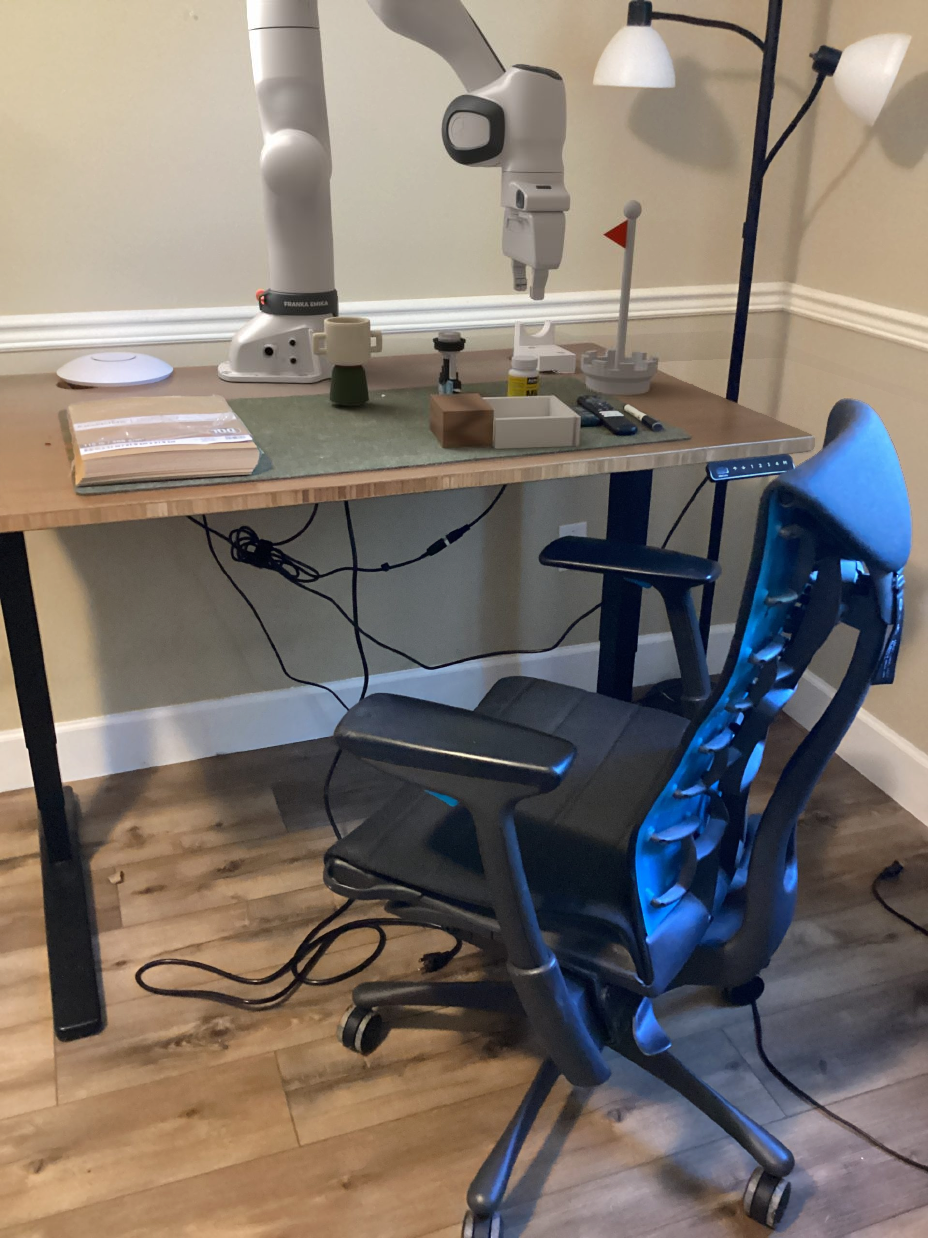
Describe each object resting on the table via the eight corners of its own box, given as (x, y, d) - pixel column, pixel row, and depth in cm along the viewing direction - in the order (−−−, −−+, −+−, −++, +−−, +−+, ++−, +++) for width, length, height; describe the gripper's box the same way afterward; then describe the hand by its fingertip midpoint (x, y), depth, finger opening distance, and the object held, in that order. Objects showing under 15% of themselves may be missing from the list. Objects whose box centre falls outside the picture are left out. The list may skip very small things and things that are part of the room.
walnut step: (442, 447, 139) (443, 411, 137) (429, 428, 148) (430, 394, 145) (492, 445, 140) (493, 409, 138) (476, 427, 149) (477, 393, 147)
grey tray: (495, 448, 139) (496, 419, 137) (474, 424, 150) (475, 397, 149) (578, 445, 141) (580, 417, 139) (552, 421, 153) (554, 395, 151)
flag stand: (627, 377, 183) (643, 197, 170) (670, 392, 172) (691, 202, 160) (565, 382, 178) (577, 197, 165) (605, 398, 167) (621, 202, 154)
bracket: (513, 361, 195) (515, 321, 191) (547, 360, 197) (549, 320, 193) (538, 376, 183) (541, 333, 180) (574, 374, 186) (577, 331, 182)
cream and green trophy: (377, 397, 164) (376, 314, 159) (388, 408, 158) (387, 322, 153) (310, 401, 161) (307, 317, 156) (319, 412, 155) (316, 324, 149)
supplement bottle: (527, 417, 155) (530, 361, 151) (501, 412, 157) (503, 357, 153) (542, 411, 158) (545, 356, 155) (516, 407, 161) (518, 353, 157)
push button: (473, 399, 165) (475, 336, 161) (443, 401, 163) (444, 338, 159) (456, 390, 170) (457, 329, 166) (427, 392, 168) (427, 331, 164)
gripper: (493, 190, 153) (491, 285, 159) (529, 197, 135) (525, 305, 141) (533, 190, 154) (530, 285, 160) (574, 197, 136) (568, 304, 142)
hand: (528, 294), depth 150 cm, fingers open, 8 cm apart
